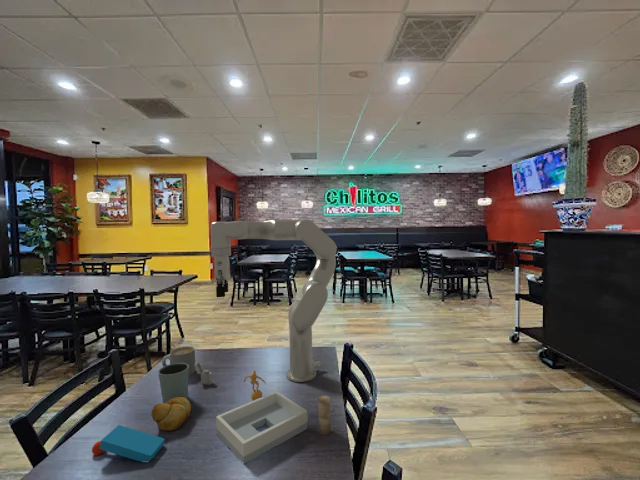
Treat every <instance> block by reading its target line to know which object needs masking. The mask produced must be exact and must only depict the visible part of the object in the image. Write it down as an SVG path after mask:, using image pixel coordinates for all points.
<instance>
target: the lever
mask: <svg viewBox="0 0 640 480" xmlns="http://www.w3.org/2000/svg"><path fill="white" fill-rule="evenodd" d="M164 444H165V438H163V437H161V436H157V435H153V434H151V433H147V432H144V431H140V430H136V429H133V428H131V427H128V426H124V425H120V424H118V425H117V426H115V428H114V429H112V430H111V431H109V433H108V434H107V435H106V436H104V437H103V438H102V439H101V440H99V441H96V442H95V443H94V444H93V446H92V448H91V452H92V454H93V456H100V455H102V454H104V452H108V453H112V454H115V455H118V456H121V457H124V458H127V459H129V460H130V459H131V460H134V461H136V462H137V461H138V462H140V461H150V460H151V459H152V458H153V457H156V456H157V454H158V452H160V451H161V449H162V448H163V447H164ZM153 459H154V458H153ZM153 459H152V460H153ZM152 460H151V461H152ZM151 461H150V462H151Z"/></svg>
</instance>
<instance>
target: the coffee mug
mask: <svg viewBox="0 0 640 480" xmlns="http://www.w3.org/2000/svg"><path fill="white" fill-rule="evenodd" d="M161 359H162V361H161V364H162V367H164V366H167V365H168V364H167V363H166V360H167V359H168V360H169V365H170V364H174V363H186V364H188V365H189V373H188V375H189V376H191V375H193V374H195V373H196V369H195V366H194V365H195V364H196V350H195V347H194V346H191V345H186V346H185V345H184V346H179V347H176V348H173V349H171V350H170V353H169V354H167V355H164V356H163V357H162V358H161Z"/></svg>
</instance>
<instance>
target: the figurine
mask: <svg viewBox="0 0 640 480" xmlns="http://www.w3.org/2000/svg"><path fill="white" fill-rule="evenodd" d="M248 378H249V379H250V384H251V386H252V393H251V395H250V397H251V400H252V401H254V400H256V399H259V398H261V397H263V392H262V391H261V390H260V389H259V387H260V383H259V381H258V380H261V381H262V382H263V383H265V385H266V384H267V383H266V381H265V380H264V379H263V378H262V377H260V376H259V375H257V373H256V370H253V371H252V373H251V374H249V375H247V376H245V377H244V380H243V383H246V380H247V379H248ZM257 379H258V380H257ZM255 385H256V389H255Z"/></svg>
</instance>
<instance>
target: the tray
mask: <svg viewBox="0 0 640 480" xmlns="http://www.w3.org/2000/svg"><path fill="white" fill-rule="evenodd" d="M215 421H216V422H215V424H216V425H215V426H216V429H215V430H216V435H217V436H218V437H219V439H220V440H221V441H222V442H223V443H224V444H225V445H226V447H229V448H230V449H231V450H230V449H229V448H228V449H229V450H230V451H231V452H232V453H233V454H234V456H236V458H237V459H238V458H239V459H240V460H241V461H242V462H243V463H245V464H247V463H249V462H250V460H251V461H253V460H254V459H256V458H257V456H258V455H260V454H261V455H263V454H265V453H267V452H268V451H270V450H272V449H273V447H274V448H275V446H276V447H278V446H279V445H281V444H283V443H285V442H287V441H289V440H290V439H292V438H293V437H295V436H297V435H298V434H300V433H302V432H304V431H306V430H308V429H309V426H308V425H309V423H308V422H309V420H308V411H307V409H306V408H303V407H302V406H301V405H299V404H298V403H296V402H294V401H292V400H291V399H289V398H288V397H287V396H285V395H283V394H282V393H280V392H279V391H276V390H275V391H274V392H272V393H271V392H270V393H269V394H265V395H264V396H262V397H261V398H259V399H256V400H254V401H253V400H252V401H250V402H247V403H245V404H243V405H239V406H238V407H236V408H235V407H234V408H233V409H231V410H228V411H227V412H223V413H221V414H218V415H217V416H215ZM264 425H266V426H267V427H268V428H266V429H264V430H261V431H259V430H257V429H258V428H260V427H262V426H264ZM271 448H272V449H271ZM266 451H267V452H266ZM264 452H265V453H264ZM262 453H263V454H262ZM261 455H260V456H261ZM255 457H256V458H255ZM258 457H259V456H258ZM239 459H238V460H239ZM240 460H239V461H240ZM241 461H240V462H241ZM248 461H249V462H248ZM242 462H241V463H242ZM246 462H247V463H246ZM243 463H242V464H243Z"/></svg>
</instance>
